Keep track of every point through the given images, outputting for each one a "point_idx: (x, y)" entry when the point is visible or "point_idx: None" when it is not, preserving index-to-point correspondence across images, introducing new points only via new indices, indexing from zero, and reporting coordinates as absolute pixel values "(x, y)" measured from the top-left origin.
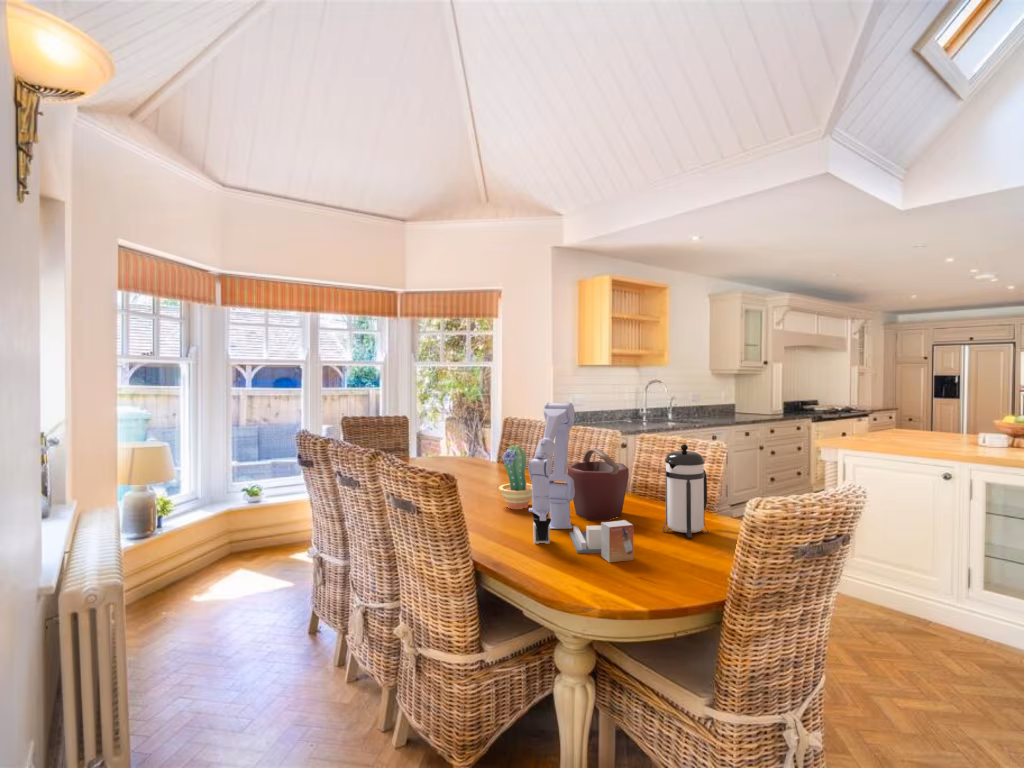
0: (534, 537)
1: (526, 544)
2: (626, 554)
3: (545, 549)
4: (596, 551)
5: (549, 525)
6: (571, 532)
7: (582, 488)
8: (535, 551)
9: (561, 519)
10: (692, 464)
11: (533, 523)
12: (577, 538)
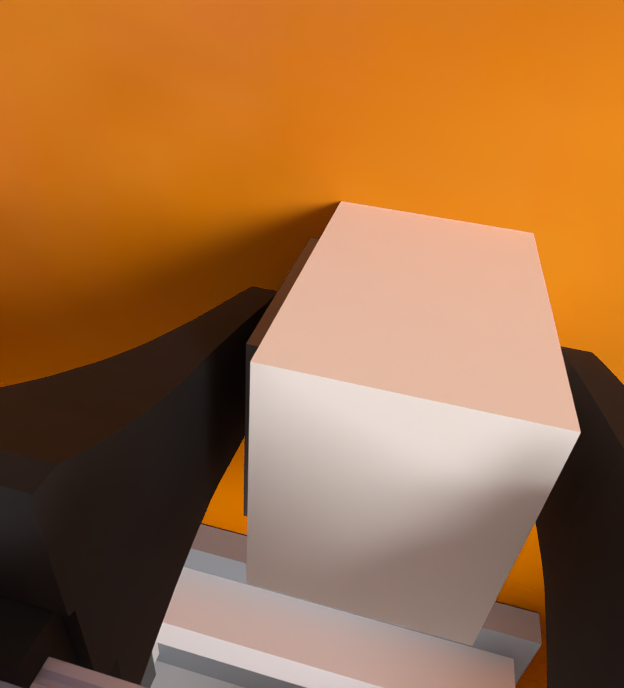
0: (319, 242)
1: (332, 65)
2: None
3: (119, 279)
4: None
5: (247, 575)
6: (510, 645)
7: None
8: (41, 144)
9: None
10: None
11: (460, 399)
12: (235, 606)
